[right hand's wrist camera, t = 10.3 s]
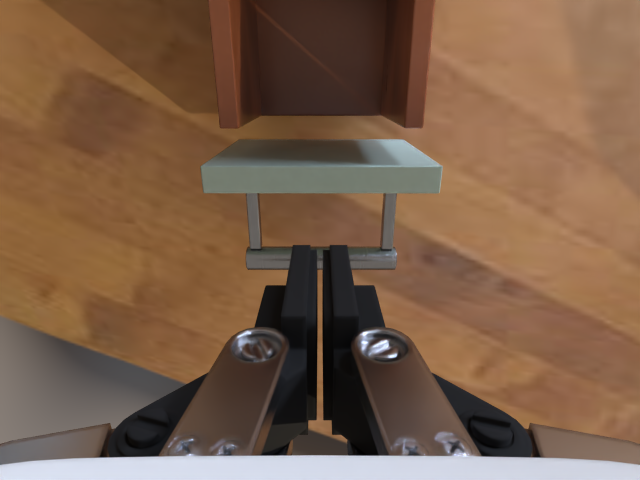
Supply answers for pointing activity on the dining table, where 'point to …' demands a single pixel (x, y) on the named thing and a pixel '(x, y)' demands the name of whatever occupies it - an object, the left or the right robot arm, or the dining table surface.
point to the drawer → (321, 106)
